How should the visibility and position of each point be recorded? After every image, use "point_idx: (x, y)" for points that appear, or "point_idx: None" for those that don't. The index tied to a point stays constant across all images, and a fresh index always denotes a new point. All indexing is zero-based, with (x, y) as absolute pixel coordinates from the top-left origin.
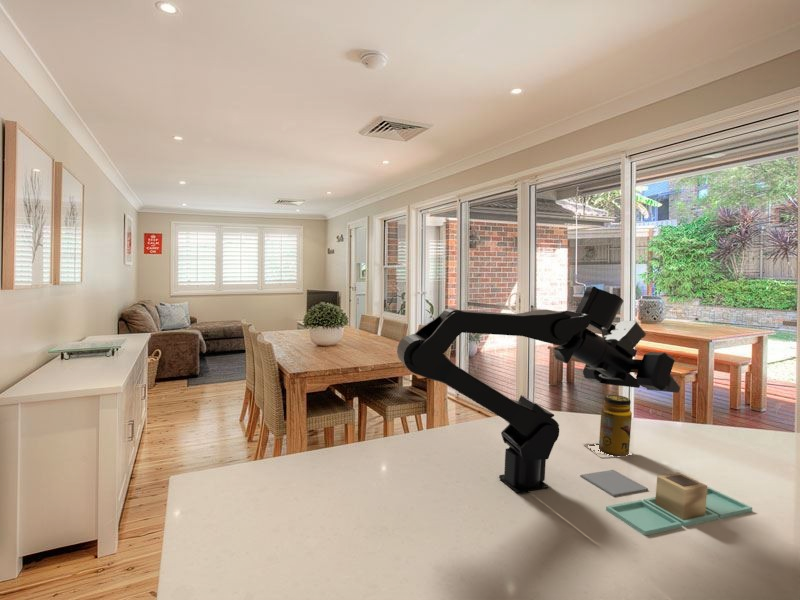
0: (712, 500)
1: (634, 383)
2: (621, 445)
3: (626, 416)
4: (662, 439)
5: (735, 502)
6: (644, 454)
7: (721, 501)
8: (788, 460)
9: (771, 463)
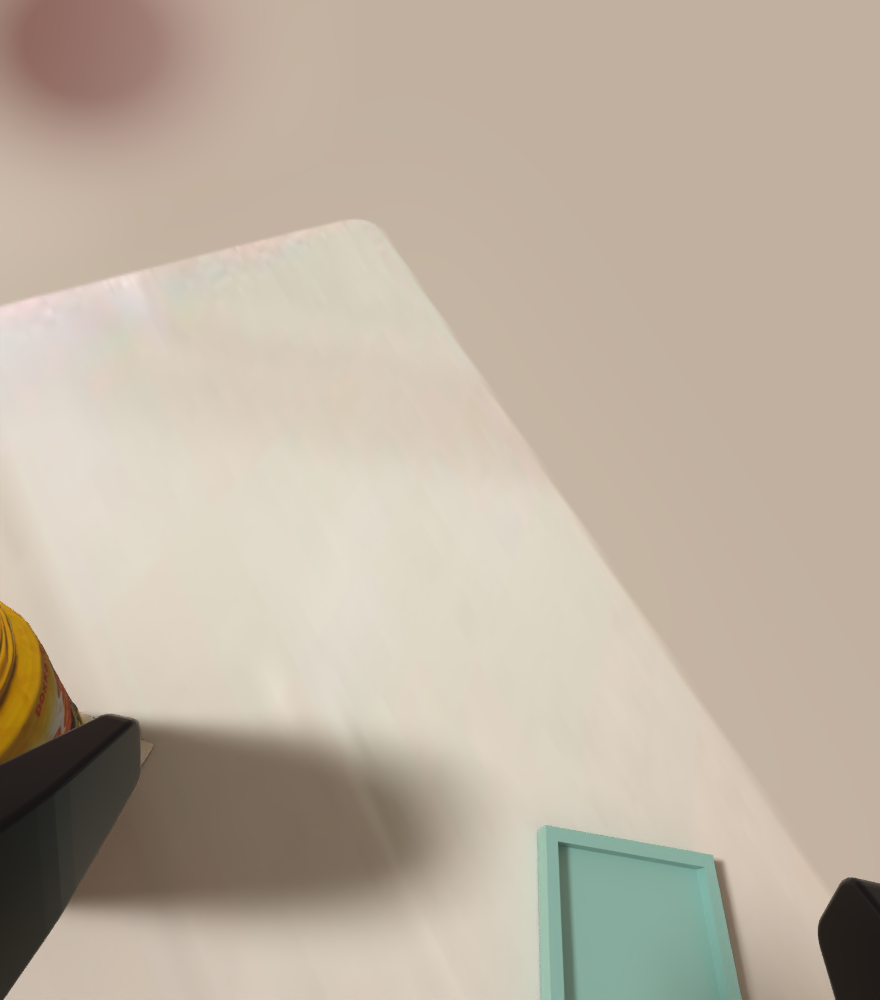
0: (615, 930)
1: (62, 857)
2: None
3: (21, 736)
4: (148, 450)
5: (659, 860)
6: (163, 676)
7: (627, 894)
8: (464, 365)
9: (459, 409)
